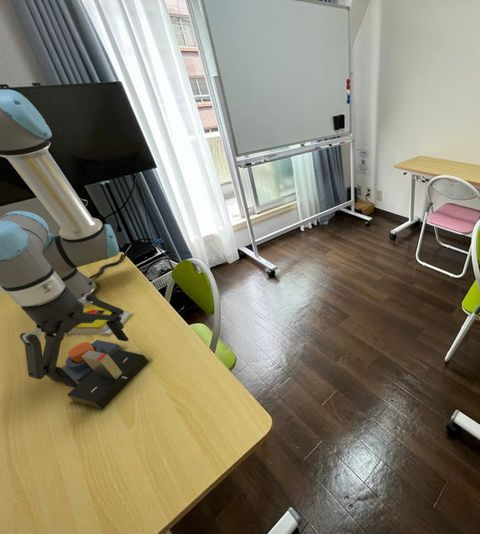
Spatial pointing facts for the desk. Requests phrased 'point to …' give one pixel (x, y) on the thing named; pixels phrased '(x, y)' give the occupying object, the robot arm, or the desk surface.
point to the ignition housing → (82, 368)
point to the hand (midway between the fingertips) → (99, 361)
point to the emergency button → (96, 323)
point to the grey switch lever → (102, 364)
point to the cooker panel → (108, 381)
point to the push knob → (79, 351)
